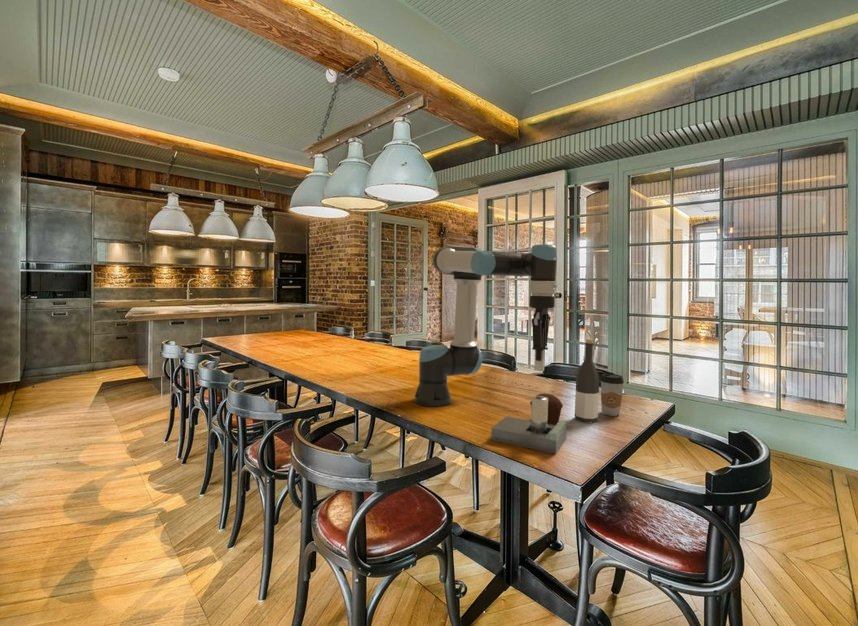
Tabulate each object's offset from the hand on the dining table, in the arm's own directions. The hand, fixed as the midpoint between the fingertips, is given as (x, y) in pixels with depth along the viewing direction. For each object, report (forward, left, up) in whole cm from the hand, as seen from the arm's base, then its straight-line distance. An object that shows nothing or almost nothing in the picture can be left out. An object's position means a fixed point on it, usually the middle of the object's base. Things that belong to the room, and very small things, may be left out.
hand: (539, 370), depth 129 cm
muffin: (-2, +20, -23) cm, 30 cm away
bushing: (+1, -1, -23) cm, 23 cm away
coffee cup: (+17, +44, -23) cm, 52 cm away
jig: (-2, -1, -23) cm, 23 cm away
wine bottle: (+10, +31, -23) cm, 40 cm away
